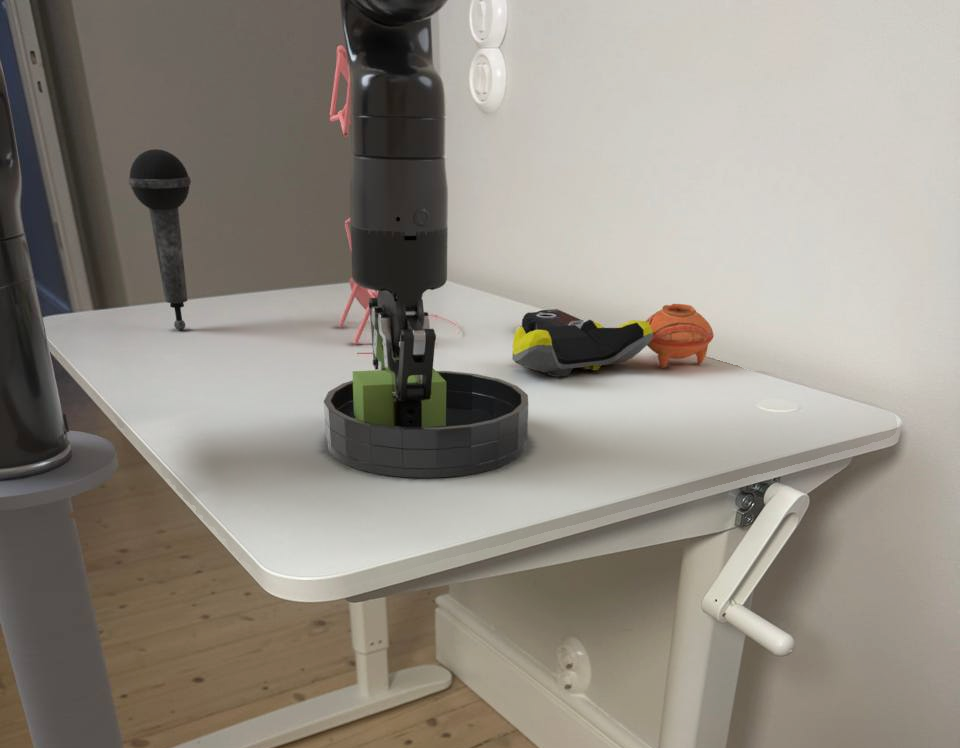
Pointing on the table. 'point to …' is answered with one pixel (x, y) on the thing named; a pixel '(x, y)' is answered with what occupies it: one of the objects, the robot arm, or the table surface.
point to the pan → (435, 431)
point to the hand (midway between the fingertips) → (401, 434)
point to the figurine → (357, 291)
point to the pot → (679, 333)
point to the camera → (549, 319)
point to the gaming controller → (579, 346)
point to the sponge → (379, 404)
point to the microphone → (164, 217)
